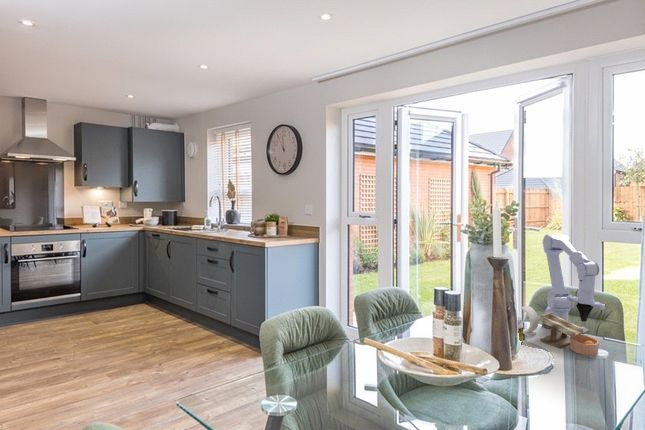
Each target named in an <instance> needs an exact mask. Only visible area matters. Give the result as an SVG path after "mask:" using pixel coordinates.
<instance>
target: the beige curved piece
mask: <svg viewBox="0 0 645 430" xmlns="http://www.w3.org/2000/svg"><path fill="white" fill-rule="evenodd" d="M539 320H541V328H544V329H545V330H547V331H549V330H551V326H554V327H557V331H558V330H559V332H560V333H561V332H563V333H565V334H567V336H569V337H570V336H571V337H573V338H574V337H577V336H579V335H586V334H587V333H589V332H590V329H589V328H587V327H584V326H578V325H576V324H574V323H572V322H570V321H569V320H568V321H566V320H564V319H562V318H559V317H557V316H555V315H553V314H552V313H551V312H548V313H546V314H545V313H543V314H541V315H540V319H539Z"/></svg>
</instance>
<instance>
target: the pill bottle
mask: <svg viewBox="0 0 645 430" xmlns="http://www.w3.org/2000/svg"><path fill="white" fill-rule="evenodd" d="M517 317H518V333H519V340H520V341H522V340H524V339H523V338H524V334H523V330H524V325H523V322H522V321H523V319H522V318H521V317H520V316H517ZM522 342H523V341H522Z"/></svg>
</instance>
